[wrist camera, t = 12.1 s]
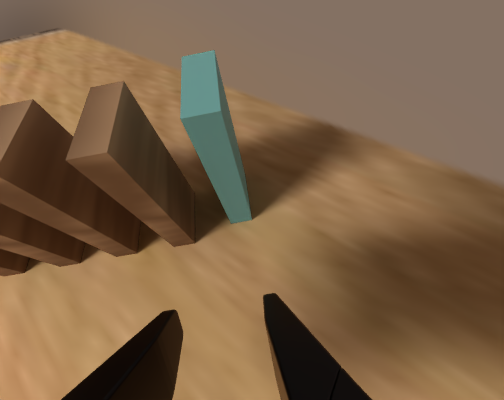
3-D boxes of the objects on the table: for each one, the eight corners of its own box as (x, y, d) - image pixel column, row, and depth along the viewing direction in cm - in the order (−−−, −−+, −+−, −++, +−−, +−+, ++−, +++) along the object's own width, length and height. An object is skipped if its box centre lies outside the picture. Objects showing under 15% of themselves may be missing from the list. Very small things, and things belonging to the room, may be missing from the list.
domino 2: (92, 211, 20) (-55, 116, 11) (80, 263, 18) (-115, 194, 9) (74, 214, 20) (-87, 123, 11) (59, 266, 18) (-154, 201, 9)
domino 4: (244, 173, 20) (214, 50, 11) (252, 219, 18) (220, 110, 9) (226, 176, 20) (182, 56, 11) (230, 223, 18) (180, 118, 9)
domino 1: (143, 202, 20) (33, 99, 11) (137, 253, 18) (-6, 173, 9) (124, 205, 20) (0, 105, 11) (116, 256, 18) (-46, 181, 9)
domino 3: (194, 192, 20) (123, 81, 11) (195, 243, 17) (107, 152, 9) (175, 196, 20) (90, 87, 11) (173, 246, 17) (65, 160, 9)
